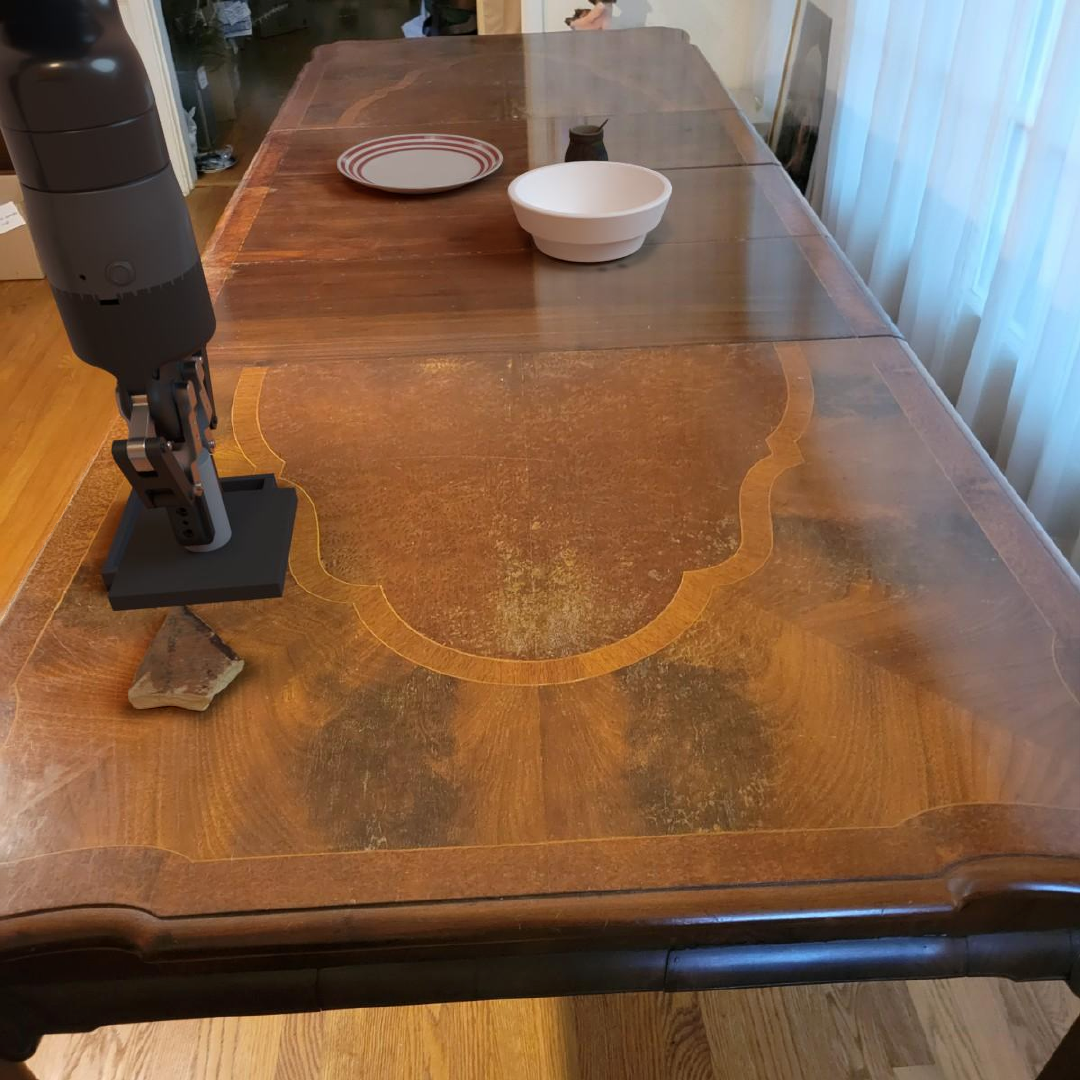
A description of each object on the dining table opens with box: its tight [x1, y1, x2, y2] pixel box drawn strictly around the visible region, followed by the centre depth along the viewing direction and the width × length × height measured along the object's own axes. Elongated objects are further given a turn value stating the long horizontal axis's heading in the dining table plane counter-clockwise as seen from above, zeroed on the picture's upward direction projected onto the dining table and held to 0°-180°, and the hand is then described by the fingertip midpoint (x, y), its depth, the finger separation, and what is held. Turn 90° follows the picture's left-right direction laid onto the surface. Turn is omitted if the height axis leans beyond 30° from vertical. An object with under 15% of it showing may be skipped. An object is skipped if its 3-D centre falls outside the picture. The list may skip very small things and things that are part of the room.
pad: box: [107, 447, 299, 612], centre depth 60 cm, size 10×10×7 cm
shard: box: [127, 605, 245, 712], centre depth 75 cm, size 11×8×2 cm
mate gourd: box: [563, 118, 610, 163], centre depth 158 cm, size 7×8×10 cm
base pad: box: [100, 472, 279, 593], centre depth 87 cm, size 13×13×2 cm
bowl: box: [507, 160, 673, 263], centre depth 136 cm, size 22×22×8 cm
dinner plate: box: [336, 133, 504, 195], centre depth 164 cm, size 28×27×3 cm
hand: (202, 523), depth 61 cm, fingers closed on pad, 3 cm apart
